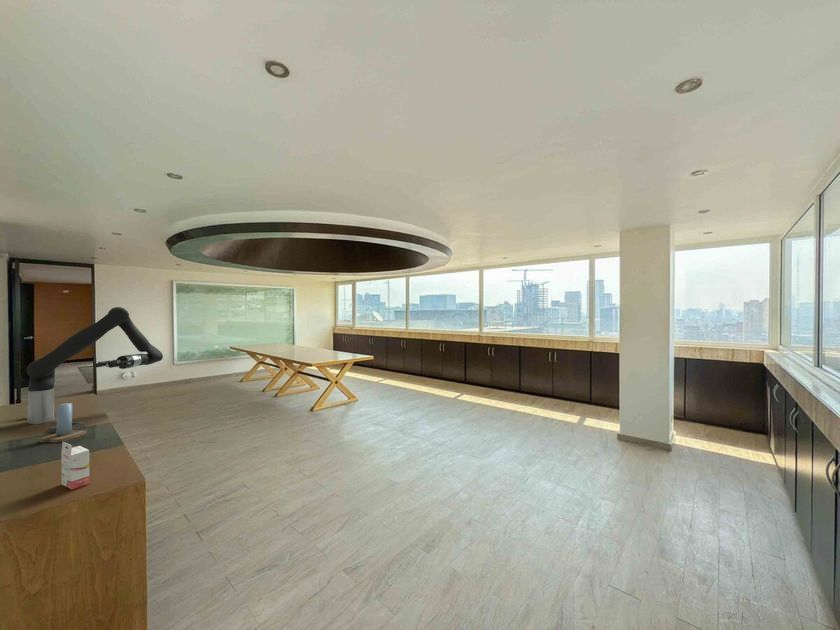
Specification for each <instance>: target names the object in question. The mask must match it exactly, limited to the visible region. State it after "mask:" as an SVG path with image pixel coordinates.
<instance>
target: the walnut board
mask: <svg viewBox="0 0 840 630" xmlns="http://www.w3.org/2000/svg"><path fill="white" fill-rule="evenodd" d="M84 434H85V435H87V434H88V431H87V430H77V429H75V430H72V433H71V434H69V435H65V436H56V432H54V433H52V434H49V435H46V436H44V437H40V438H38V442H39V443H59V442H62V443H63V442H64V441H65V442H68V441H70V439H71V440H73V438H74V439H77V438H79V437H82V436H85V435H84ZM81 435H82V436H81ZM67 440H68V441H67Z"/></svg>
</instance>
